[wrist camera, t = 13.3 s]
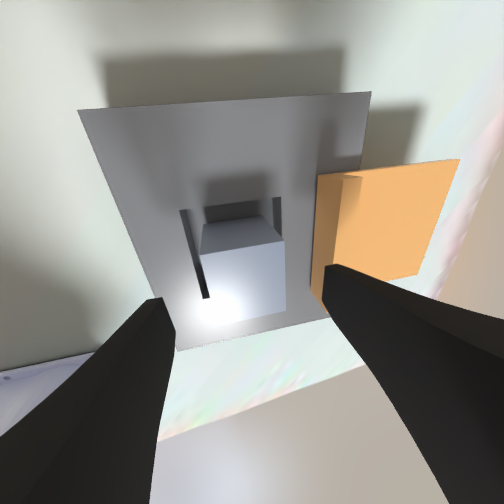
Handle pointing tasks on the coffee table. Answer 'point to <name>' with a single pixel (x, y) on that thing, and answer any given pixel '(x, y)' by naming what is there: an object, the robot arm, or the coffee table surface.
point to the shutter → (378, 219)
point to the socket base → (224, 190)
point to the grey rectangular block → (243, 268)
